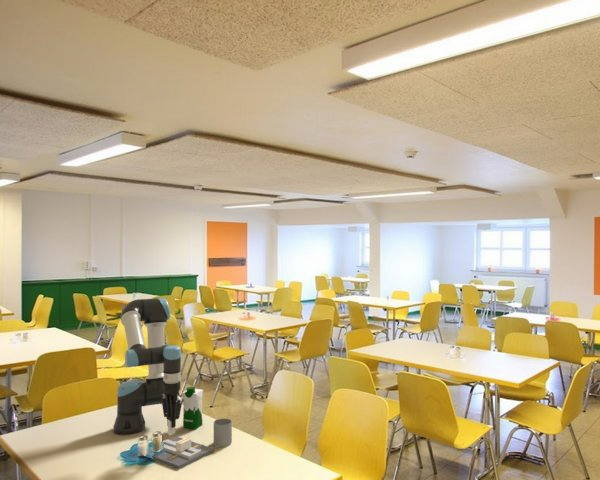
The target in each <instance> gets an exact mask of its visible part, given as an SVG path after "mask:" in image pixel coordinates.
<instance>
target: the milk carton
mask: <svg viewBox="0 0 600 480" xmlns="http://www.w3.org/2000/svg"><path fill="white" fill-rule="evenodd" d="M203 393H204V389H202V388H201V389H199V388H195V387H193V386H189V387H186V390H185V391H183V392H182V399H183V400H184V401H183V403H182V405H183V406H182V407H183V408H182V409H183V411H182V413H183V418H182V429H187V430H192V431H196V430H197V429H199V428H200V427H201V426H202V425H203Z"/></svg>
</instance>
